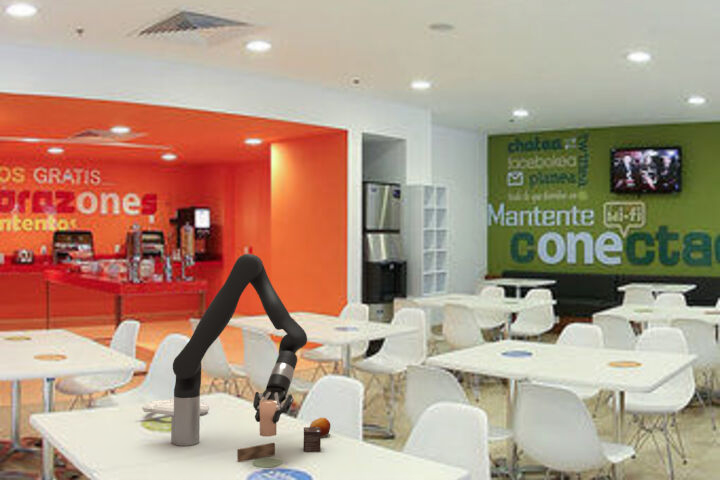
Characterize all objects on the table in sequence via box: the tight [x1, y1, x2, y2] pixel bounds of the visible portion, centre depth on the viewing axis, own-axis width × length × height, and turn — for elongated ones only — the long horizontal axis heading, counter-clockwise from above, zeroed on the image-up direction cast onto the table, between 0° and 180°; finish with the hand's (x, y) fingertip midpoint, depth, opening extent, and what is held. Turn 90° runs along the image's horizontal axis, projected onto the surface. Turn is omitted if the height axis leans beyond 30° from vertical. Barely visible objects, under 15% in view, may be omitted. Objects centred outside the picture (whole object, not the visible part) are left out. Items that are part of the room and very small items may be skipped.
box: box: [303, 426, 322, 453], centre depth 276 cm, size 6×6×7 cm
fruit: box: [309, 417, 331, 438], centre depth 294 cm, size 8×8×8 cm
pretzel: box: [141, 397, 210, 416], centre depth 324 cm, size 28×24×6 cm
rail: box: [236, 442, 276, 463], centre depth 265 cm, size 14×1×4 cm, turn 128°
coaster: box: [251, 456, 283, 469], centre depth 260 cm, size 10×10×1 cm
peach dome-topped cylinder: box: [259, 399, 277, 437], centre depth 260 cm, size 6×6×11 cm
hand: (265, 421), depth 258 cm, fingers closed on peach dome-topped cylinder, 5 cm apart
